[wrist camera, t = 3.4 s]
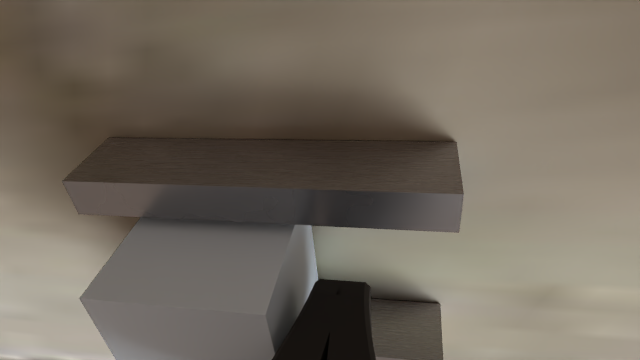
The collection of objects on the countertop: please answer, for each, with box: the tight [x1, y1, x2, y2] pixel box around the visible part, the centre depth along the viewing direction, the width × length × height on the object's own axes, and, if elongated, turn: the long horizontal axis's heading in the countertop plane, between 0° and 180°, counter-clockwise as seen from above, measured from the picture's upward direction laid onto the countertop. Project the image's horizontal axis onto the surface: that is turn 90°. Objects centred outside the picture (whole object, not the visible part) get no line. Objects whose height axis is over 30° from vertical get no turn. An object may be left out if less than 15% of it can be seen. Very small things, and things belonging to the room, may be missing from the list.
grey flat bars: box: [62, 138, 464, 360], centre depth 12 cm, size 9×7×2 cm
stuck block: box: [79, 217, 318, 360], centre depth 12 cm, size 4×4×4 cm
